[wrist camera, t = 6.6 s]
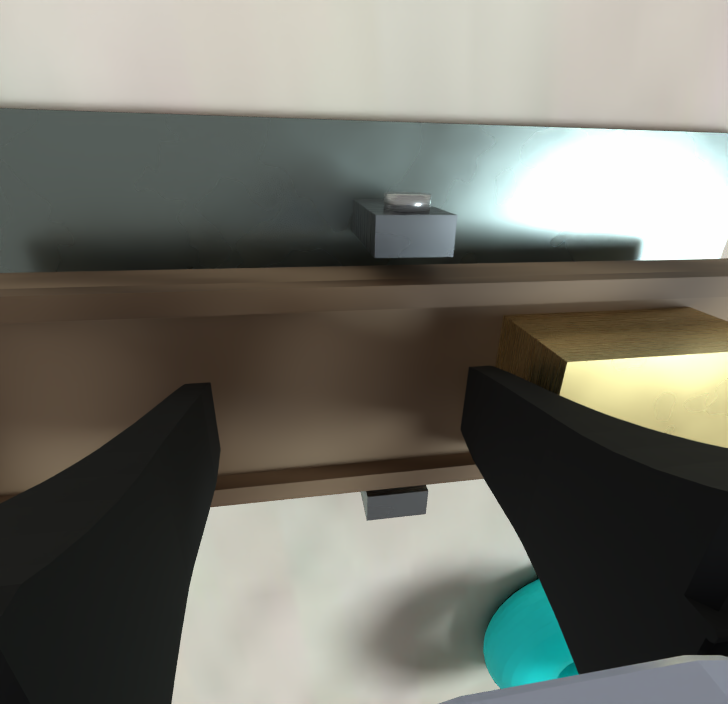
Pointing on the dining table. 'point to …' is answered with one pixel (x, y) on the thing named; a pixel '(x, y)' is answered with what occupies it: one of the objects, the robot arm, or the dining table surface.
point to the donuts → (526, 641)
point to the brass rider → (629, 365)
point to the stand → (348, 198)
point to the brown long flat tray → (291, 361)
